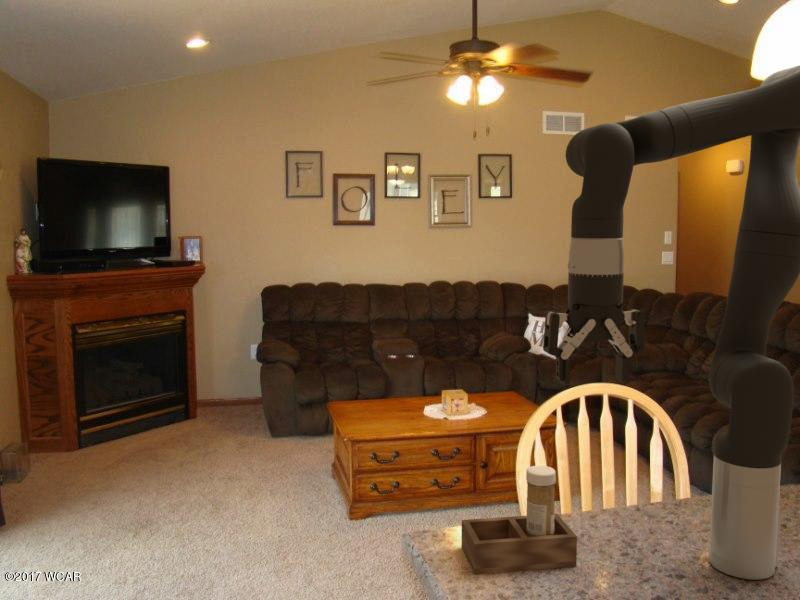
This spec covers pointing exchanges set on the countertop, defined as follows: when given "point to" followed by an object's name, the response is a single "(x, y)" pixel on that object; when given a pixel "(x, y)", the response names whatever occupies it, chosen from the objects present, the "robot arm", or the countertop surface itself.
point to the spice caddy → (516, 545)
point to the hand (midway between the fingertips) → (592, 382)
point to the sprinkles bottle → (540, 500)
